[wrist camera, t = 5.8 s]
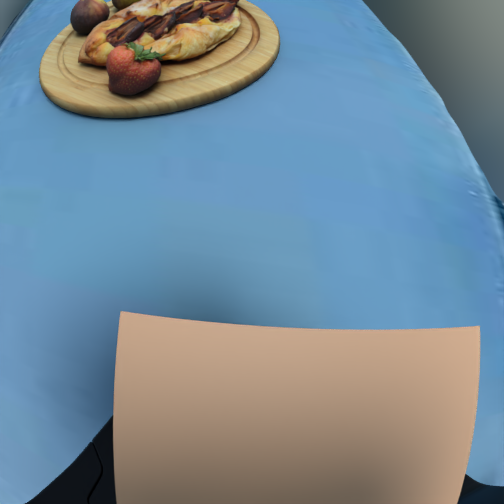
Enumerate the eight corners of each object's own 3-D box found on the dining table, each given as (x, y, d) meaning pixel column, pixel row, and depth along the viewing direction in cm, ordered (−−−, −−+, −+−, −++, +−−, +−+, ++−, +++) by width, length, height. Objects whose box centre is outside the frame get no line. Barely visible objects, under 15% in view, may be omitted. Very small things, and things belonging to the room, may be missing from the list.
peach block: (279, 437, 14) (428, 574, 2) (182, 433, 13) (136, 612, 1) (285, 347, 15) (479, 326, 4) (188, 340, 15) (120, 310, 3)
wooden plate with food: (245, 154, 27) (262, 88, 19) (-1, 113, 25) (-25, 69, 17) (292, 16, 38) (304, -23, 30) (118, -5, 36) (115, -40, 28)
